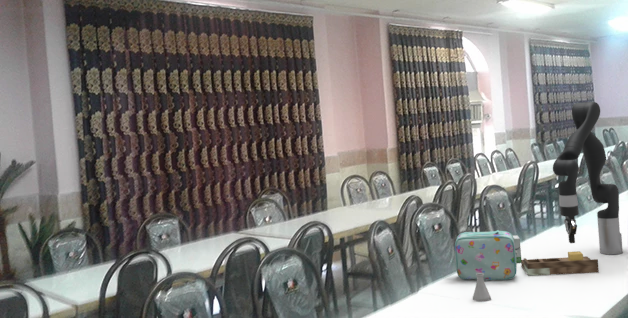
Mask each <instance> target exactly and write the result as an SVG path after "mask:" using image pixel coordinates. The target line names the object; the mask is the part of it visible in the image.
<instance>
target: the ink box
mask: <svg viewBox="0 0 628 318" xmlns="http://www.w3.org/2000/svg"><path fill="white" fill-rule="evenodd" d="M512 236H513V238H514V244H515V248H516V249H515V251H517V253H518V255H519V256H518V255H517V254H516V263H517V264H518V263H520V264H521V260H522V249H521V248H522V247H521V239H520V237H519V235H518V234H517V235H513V234H512Z"/></svg>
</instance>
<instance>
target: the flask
mask: <svg viewBox="0 0 628 318" xmlns="http://www.w3.org/2000/svg"><path fill="white" fill-rule="evenodd" d="M476 276H477V279H476V284H475V289H474V292H473V295H472V300H474V301H476V302H486V301H491V300H492V297H491V294H490V292H489V290H488V288H487V286H486V283H485V280H484V278H483V276H484V274H483V273H477V274H476Z"/></svg>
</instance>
